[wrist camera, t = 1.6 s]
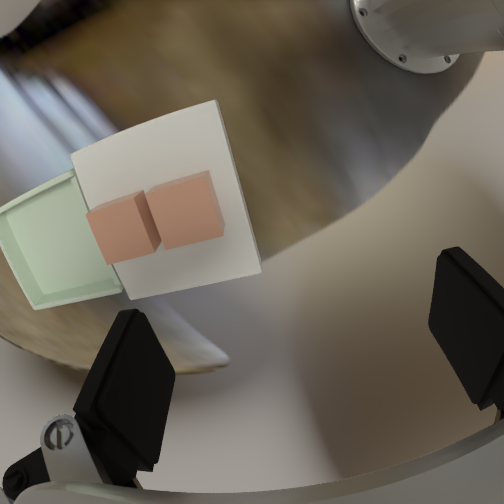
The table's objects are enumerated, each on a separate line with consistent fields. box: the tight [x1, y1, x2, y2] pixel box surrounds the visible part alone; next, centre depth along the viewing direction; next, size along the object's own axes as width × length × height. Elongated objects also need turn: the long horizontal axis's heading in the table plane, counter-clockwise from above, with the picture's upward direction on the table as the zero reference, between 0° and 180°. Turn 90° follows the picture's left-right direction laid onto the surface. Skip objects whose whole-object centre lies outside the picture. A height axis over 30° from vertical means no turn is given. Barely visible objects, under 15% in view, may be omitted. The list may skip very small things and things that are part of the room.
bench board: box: [70, 100, 262, 300], centre depth 27 cm, size 14×16×2 cm
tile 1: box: [86, 190, 162, 265], centre depth 25 cm, size 5×5×2 cm
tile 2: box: [145, 170, 225, 250], centre depth 25 cm, size 5×5×2 cm
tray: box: [0, 169, 124, 310], centre depth 28 cm, size 14×13×3 cm
